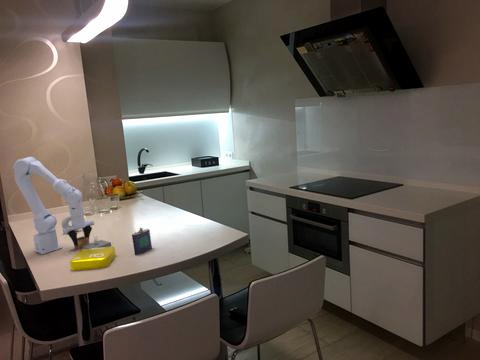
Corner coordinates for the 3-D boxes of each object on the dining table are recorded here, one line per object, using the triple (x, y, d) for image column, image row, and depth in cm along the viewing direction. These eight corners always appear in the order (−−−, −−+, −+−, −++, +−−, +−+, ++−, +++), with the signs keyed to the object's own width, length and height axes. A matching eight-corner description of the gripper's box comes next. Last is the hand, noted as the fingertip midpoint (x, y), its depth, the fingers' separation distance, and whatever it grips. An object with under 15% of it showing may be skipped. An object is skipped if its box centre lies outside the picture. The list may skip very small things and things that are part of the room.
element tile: (117, 255, 177) (115, 244, 177) (107, 268, 163) (105, 257, 162) (82, 258, 177) (81, 247, 176) (69, 272, 162) (67, 260, 162)
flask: (149, 247, 183) (146, 224, 181) (154, 248, 181) (151, 225, 179) (133, 254, 176) (129, 230, 174) (137, 255, 174) (134, 231, 172)
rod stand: (91, 252, 183) (89, 239, 182) (82, 249, 188) (80, 237, 187) (111, 245, 190) (109, 233, 189) (101, 242, 195) (100, 231, 194)
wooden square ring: (79, 249, 188) (78, 240, 188) (74, 247, 192) (73, 239, 191) (89, 245, 192) (88, 237, 191) (84, 244, 195) (83, 236, 195)
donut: (63, 235, 214) (60, 216, 212) (62, 233, 216) (59, 215, 215) (83, 230, 219) (80, 212, 217) (82, 229, 221) (79, 211, 220)
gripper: (66, 221, 181) (71, 250, 184) (95, 212, 192) (100, 240, 194) (58, 219, 186) (63, 247, 188) (88, 211, 197) (92, 238, 199)
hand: (81, 243), depth 192 cm, fingers closed on wooden square ring, 5 cm apart
